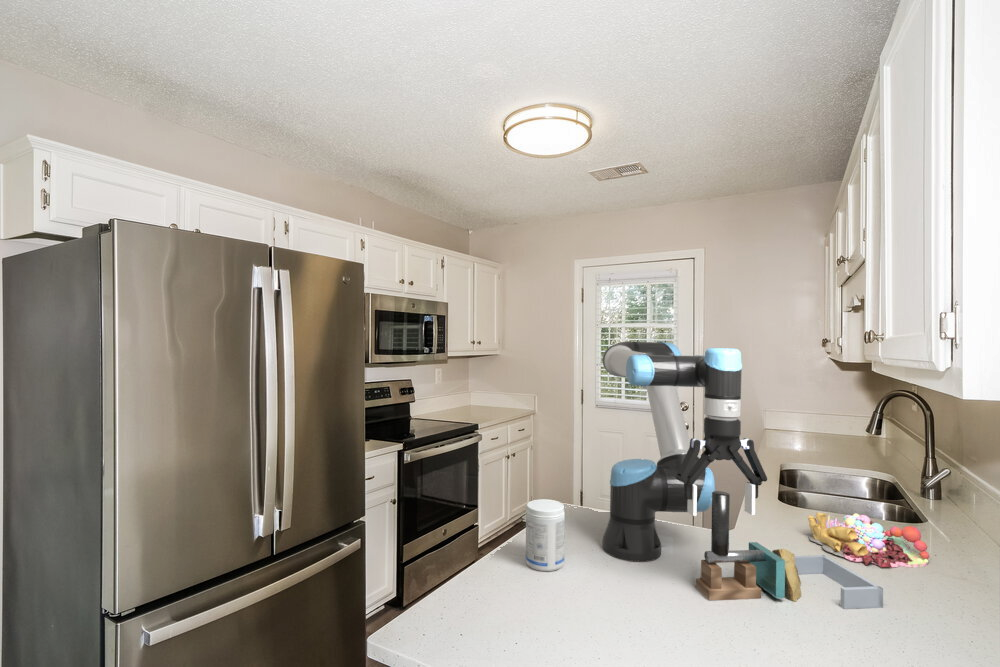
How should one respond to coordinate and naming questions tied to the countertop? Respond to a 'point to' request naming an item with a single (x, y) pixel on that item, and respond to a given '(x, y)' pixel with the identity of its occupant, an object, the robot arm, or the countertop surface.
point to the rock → (790, 575)
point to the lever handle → (764, 560)
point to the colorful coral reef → (868, 541)
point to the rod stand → (728, 582)
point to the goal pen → (843, 581)
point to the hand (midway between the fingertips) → (721, 513)
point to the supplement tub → (545, 534)
